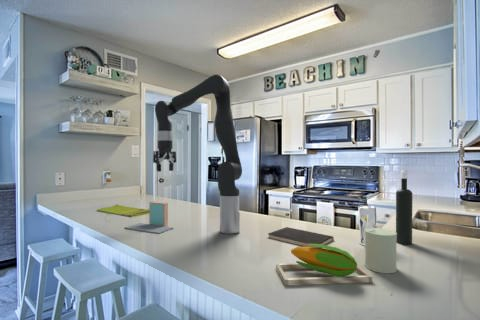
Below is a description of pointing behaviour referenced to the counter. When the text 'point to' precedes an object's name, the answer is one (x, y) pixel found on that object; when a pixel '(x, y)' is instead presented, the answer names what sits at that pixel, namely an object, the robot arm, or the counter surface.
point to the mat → (149, 228)
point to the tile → (158, 213)
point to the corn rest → (320, 280)
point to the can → (380, 250)
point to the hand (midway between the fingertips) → (165, 171)
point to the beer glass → (366, 220)
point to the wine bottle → (404, 212)
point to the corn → (326, 259)
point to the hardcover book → (300, 237)
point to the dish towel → (124, 211)
